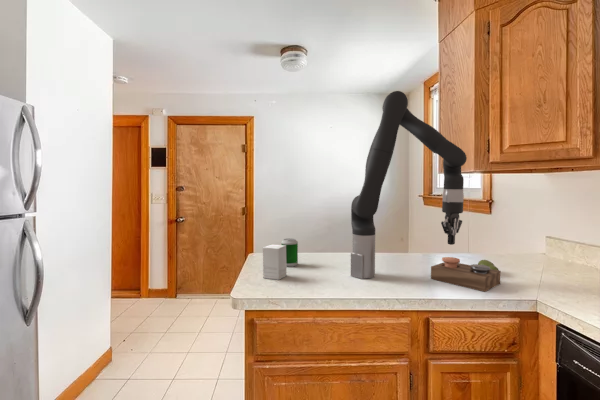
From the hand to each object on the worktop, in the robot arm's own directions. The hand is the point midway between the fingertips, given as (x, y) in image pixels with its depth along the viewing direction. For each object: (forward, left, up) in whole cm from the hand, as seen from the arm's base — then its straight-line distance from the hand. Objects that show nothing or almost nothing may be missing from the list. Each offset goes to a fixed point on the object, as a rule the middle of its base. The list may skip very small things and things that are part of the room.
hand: (451, 244), depth 129 cm
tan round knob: (0, 0, -11) cm, 11 cm away
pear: (+19, -7, -14) cm, 25 cm away
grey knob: (0, -11, -12) cm, 17 cm away
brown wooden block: (0, -5, -14) cm, 15 cm away
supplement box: (-53, +46, -14) cm, 72 cm away
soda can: (-37, +58, -14) cm, 70 cm away
